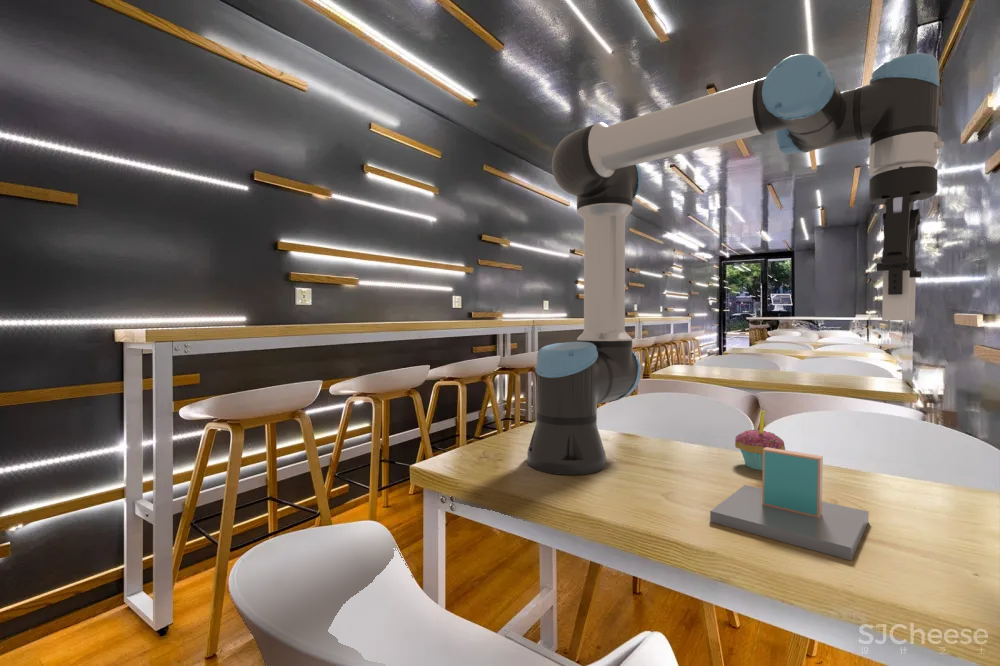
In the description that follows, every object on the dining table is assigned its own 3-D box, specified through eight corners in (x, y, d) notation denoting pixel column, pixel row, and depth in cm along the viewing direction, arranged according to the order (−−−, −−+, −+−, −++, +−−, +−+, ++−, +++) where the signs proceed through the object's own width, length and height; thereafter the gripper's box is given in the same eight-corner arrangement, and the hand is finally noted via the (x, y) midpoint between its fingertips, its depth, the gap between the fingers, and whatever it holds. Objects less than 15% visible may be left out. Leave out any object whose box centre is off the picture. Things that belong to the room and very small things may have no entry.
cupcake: (792, 475, 88) (793, 409, 88) (741, 472, 90) (742, 408, 89) (775, 462, 96) (776, 402, 96) (729, 459, 98) (729, 400, 98)
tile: (761, 504, 70) (762, 449, 70) (765, 501, 71) (766, 447, 71) (819, 518, 65) (820, 458, 65) (821, 514, 66) (822, 456, 66)
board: (710, 521, 67) (710, 511, 67) (744, 494, 78) (744, 484, 78) (851, 560, 56) (851, 547, 56) (868, 522, 67) (868, 511, 67)
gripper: (934, 141, 58) (931, 319, 58) (939, 184, 76) (936, 320, 76) (857, 156, 63) (854, 319, 63) (879, 193, 81) (876, 320, 82)
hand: (899, 320), depth 70 cm, fingers open, 13 cm apart
